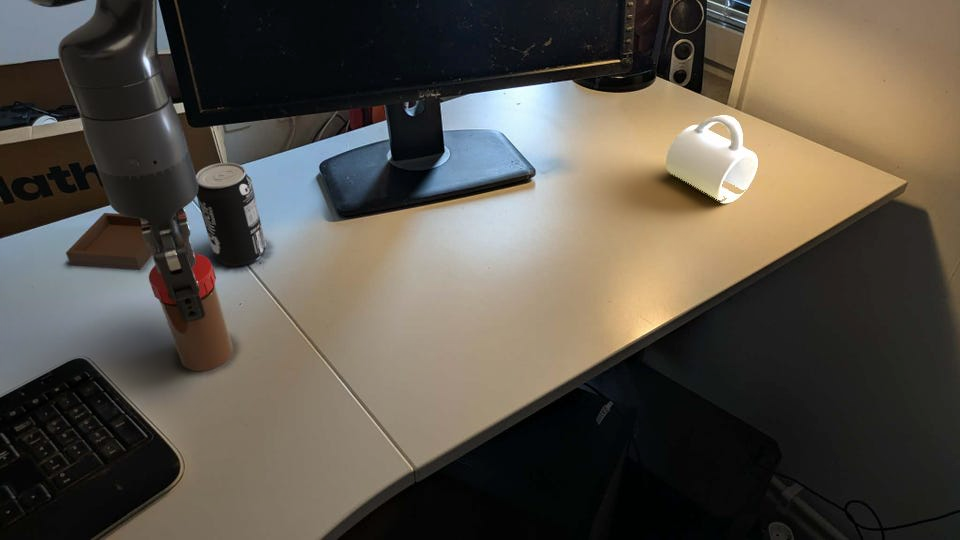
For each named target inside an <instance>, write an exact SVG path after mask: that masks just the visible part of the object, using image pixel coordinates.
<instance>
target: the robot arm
mask: <svg viewBox="0 0 960 540" xmlns="http://www.w3.org/2000/svg"><path fill="white" fill-rule="evenodd" d="M84 1H86V0H27V2H30V3H32V4H34V5H37V6H39V7H40V6H41V7H44V8H60V7H65V6H70V5H72V4H76V3H77V4H78V3H80V2H84ZM157 7H158V0H96V1H95V8H94V12H93V15H92V16H91V17H90V19H89V20H87V21H86V22H85V23H84V24H82V25H80V26H79V27H77V28H75V29H74V30H72V31H71V32H69V33H68V34H67V35H66V36H64V37H63V38H62V39H61V40H60V42H59V44H58V47H57V52H58V53H57V54H58V59H59V63H60V66H61V69H62V71H63V74H64V76H65V79H66V82H67V85H68V87H69V90H70V93H71V96H72V98H73V100H74V103H75V106H76V108H77V111H78V113H79V117H80V121H81V127H82V131H83V135H84V138H85V139H84V140H85V141H86V145H87V147H88V149H89V152H90V154H91V157H92V160H93V163H94V165H95V167H96V171H97V173H98V176H99V179H100V181H101V183H102V186H103V190H104V192H105V195H106V198H107V200H108V202H109V204H110V207H111V208H112V209H113V210H114V212H116V213H117V214H121V215H124V216H127V217H132V218H140V220H141V223H142V226H143V227H141V230H142V233H143V237H144V240H145V243H146V244H147V245H149V246H150V249H151V252H152V258H153V262H154V264H155V265H156V268H157V271H158V272H159V273H161V274H162V277H163V280H164V282H165V285H166V288H167V290H168V297H169V299H170V298H171V301H172V302H174V301H175V302H176V305H177V308H178V311H179V314H180V317H181V319H182V321H183V322H185V323H188V322H192V321H195V320H199V319H202V318H204V317H205V311H204V307H203V304H202V301H201V298H200V294H199V291H200V288H199V283H198V280H197V281H196V278H195V275H194V272H193V266H194V265H195V264H196V258H195V255H194V254H195V252H194V249H193V245H192V242H191V239H190V236H191V229H190V224H189V222H188V217H187V213H186V210H185V207H187V206H188V205H190V204H191V203H192V202H193V201H194V200H195V199H196V198H197V193H198V189H199V186H198V182H197V178H196V175H197V174H196V171H195V168H194V164H193V161H192V156H191V153H190V150H189V146H188V143H187V139H186V136H185V131H184V128H183V125H182V122H181V119H180V117H179V114H178V111H177V110H176V107H175V105H174V102H173V100H172V97H171V94H170V90H169V88H168V83H167V81H166V77H165V73H164V70H163V66H162V62H161V59H160V56H159V52H158V51H159V50H158V11H157V10H158V8H157ZM155 265H154V266H155Z"/></svg>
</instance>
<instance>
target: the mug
mask: <svg viewBox="0 0 960 540" xmlns="http://www.w3.org/2000/svg"><path fill="white" fill-rule="evenodd" d="M715 124H721V125H723V126H724V127H725V128H726V129H727V131H728V134H729V138H730V139H728V138H725V137H723V136H721V135H719V134H717V133H714V132H713V131H711V130H709V128H710V127H712V126H713V125H715ZM665 168H666V170H667V172H668V173H669V172H670V173H669V174H670V175H672V174H673V175H672V176H674V175H675V176H674V177H675V178H677V177H678V178H677V179H679V178H680V179H679V180H681V179H682V180H681V181H683V182H684V181H685V182H684V183H686V182H687V183H686V184H688V183H689V184H688V186H689V185H690V184H691V185H692V186H691V185H690V186H691V187H693V186H694V187H693V188H695V187H696V188H695V189H696V190H698V189H699V190H698V191H700V190H701V191H700V192H701V193H703V194H705V193H707V194H708V195H707V194H706V195H707V196H708V197H710V198H712V197H714V198H715V199H714V198H713V199H714V200H716V199H717V200H716V201H717V202H719V201H718V200H722V199H724V197H725V198H727V199H726V200H725V201H723V202H720V203H721V204H730V203H732V202H734V201H736V200H737V199H738V198H740V197H741V196H742V195H743V193H741V194H735V193H733V192H731V191H729V190H728V189H726V188H724V187H722V184H723V181H726V182H728V183H730V184H732V185H735V187H738V188H739V189H741V190H745V189H746V190H747V189H748V188H749V186H750V184H751V183H752V181H753V179H754V178H755V175H756V172H757V170H758V169H757V168H758V157H757V154H756V153H755V152H753V151H751V150H750V149H747V148H745V147H744V146H743V131H742V128H741V125H740V123H739V122H738V121H737V120H736V119H735V118H734V117H732V116H730V115H727V114H726V115H724V114H723V115H722V114H721V115H715V116H712V117H709V118H707V119H705V120H703V121H702V122H700V123H698V125H697V124H694V125H690V126H687V127H685V128H684V129H683V130H682V131H680V133H678V134H677V135H676V137H675V138H674V139H673V141H672V142H671V144H670V146H669V148H668V151H667V154H666V157H665ZM697 188H698V189H697ZM746 190H745V191H746ZM702 191H703V192H702ZM704 192H705V193H704ZM709 195H710V196H709ZM711 196H712V197H711ZM723 196H724V197H723Z"/></svg>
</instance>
